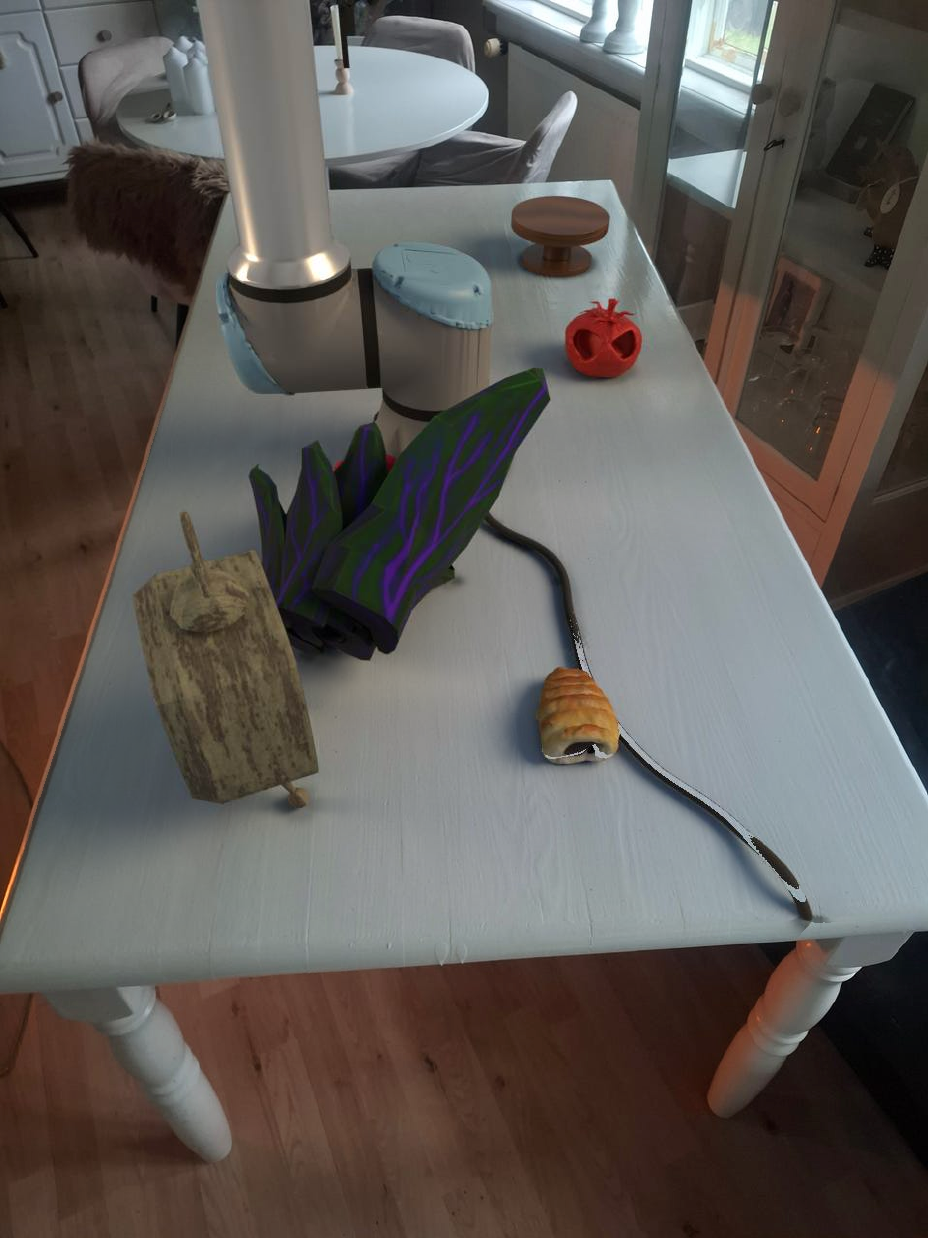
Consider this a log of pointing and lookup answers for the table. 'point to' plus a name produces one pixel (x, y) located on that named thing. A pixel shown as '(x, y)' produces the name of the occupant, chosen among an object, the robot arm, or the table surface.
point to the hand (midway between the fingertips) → (293, 67)
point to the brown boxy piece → (225, 677)
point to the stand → (559, 233)
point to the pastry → (575, 717)
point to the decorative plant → (388, 519)
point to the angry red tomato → (603, 341)
